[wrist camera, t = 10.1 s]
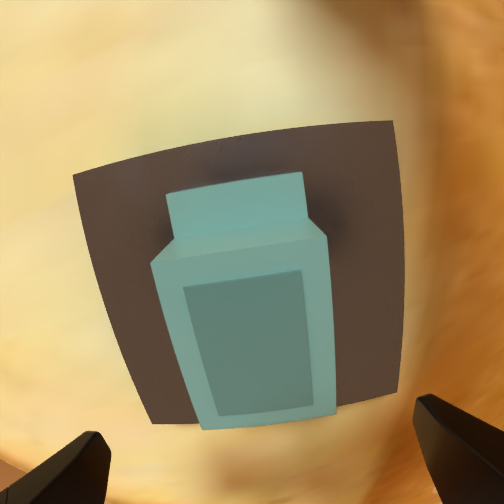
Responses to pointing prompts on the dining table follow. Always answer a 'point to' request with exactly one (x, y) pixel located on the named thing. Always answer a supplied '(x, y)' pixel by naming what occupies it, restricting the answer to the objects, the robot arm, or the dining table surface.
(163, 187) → the stand
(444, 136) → the dining table surface
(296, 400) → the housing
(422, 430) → the robot arm
